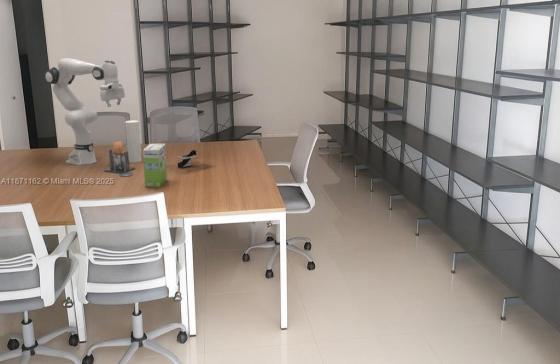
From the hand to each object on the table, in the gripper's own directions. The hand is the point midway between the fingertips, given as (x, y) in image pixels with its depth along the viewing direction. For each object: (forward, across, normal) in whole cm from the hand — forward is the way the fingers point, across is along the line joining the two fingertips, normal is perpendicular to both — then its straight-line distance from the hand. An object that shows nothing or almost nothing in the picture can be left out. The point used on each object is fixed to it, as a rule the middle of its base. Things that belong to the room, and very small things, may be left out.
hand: (114, 105), depth 362 cm
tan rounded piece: (+33, +6, +5) cm, 34 cm away
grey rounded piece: (+44, +14, +17) cm, 49 cm away
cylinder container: (+44, -20, -3) cm, 48 cm away
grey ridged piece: (+44, +6, +5) cm, 44 cm away
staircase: (+45, -20, +43) cm, 65 cm away
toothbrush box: (+44, +22, +48) cm, 69 cm away
